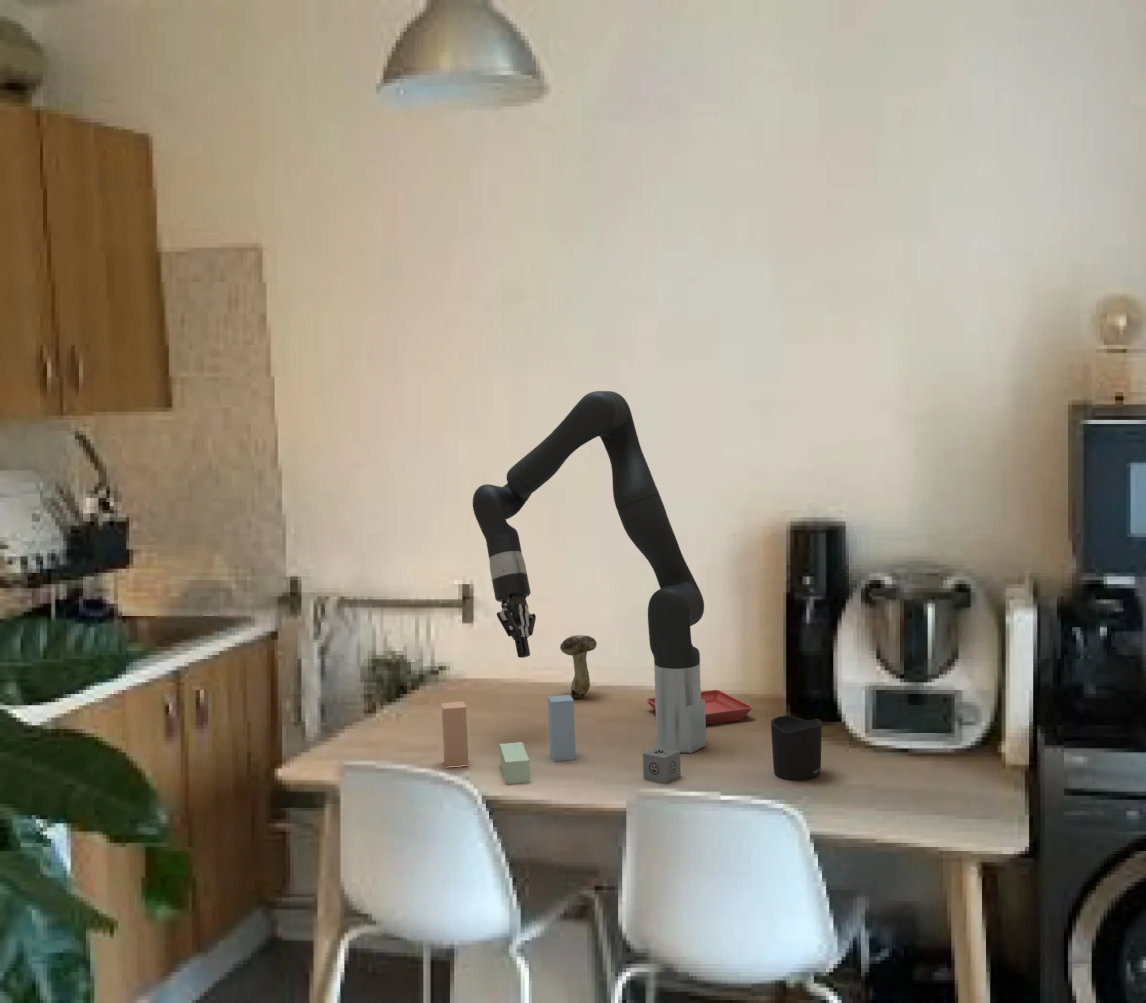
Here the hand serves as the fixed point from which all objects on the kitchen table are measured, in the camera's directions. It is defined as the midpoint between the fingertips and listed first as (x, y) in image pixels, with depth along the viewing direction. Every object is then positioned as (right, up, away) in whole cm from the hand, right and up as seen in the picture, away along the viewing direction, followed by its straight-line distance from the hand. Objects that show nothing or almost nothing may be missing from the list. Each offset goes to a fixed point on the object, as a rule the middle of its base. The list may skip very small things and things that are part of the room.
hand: (524, 656), depth 265 cm
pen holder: (+52, -19, -24) cm, 61 cm away
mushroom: (+12, -14, +36) cm, 41 cm away
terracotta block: (-13, -20, -10) cm, 26 cm away
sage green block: (-2, -18, -12) cm, 21 cm away
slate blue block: (+8, -19, -8) cm, 22 cm away
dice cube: (+27, -20, -23) cm, 41 cm away
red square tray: (+38, -16, +18) cm, 45 cm away
